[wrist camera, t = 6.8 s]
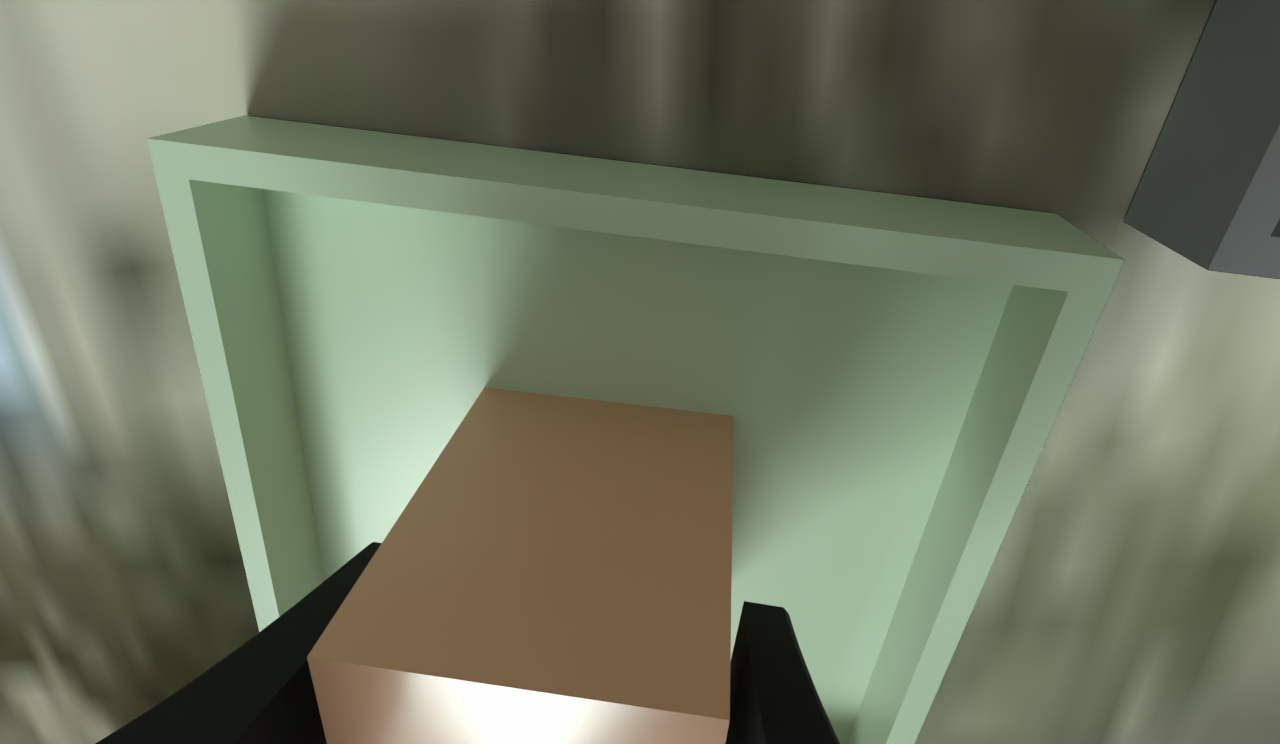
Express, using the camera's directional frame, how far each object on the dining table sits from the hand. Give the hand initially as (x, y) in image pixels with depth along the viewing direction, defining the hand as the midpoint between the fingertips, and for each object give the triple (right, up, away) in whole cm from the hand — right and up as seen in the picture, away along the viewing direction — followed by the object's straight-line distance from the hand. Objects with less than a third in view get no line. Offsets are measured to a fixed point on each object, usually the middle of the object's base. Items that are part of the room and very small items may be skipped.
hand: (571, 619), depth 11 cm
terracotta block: (0, +1, +2) cm, 3 cm away
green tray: (0, +2, +3) cm, 3 cm away
